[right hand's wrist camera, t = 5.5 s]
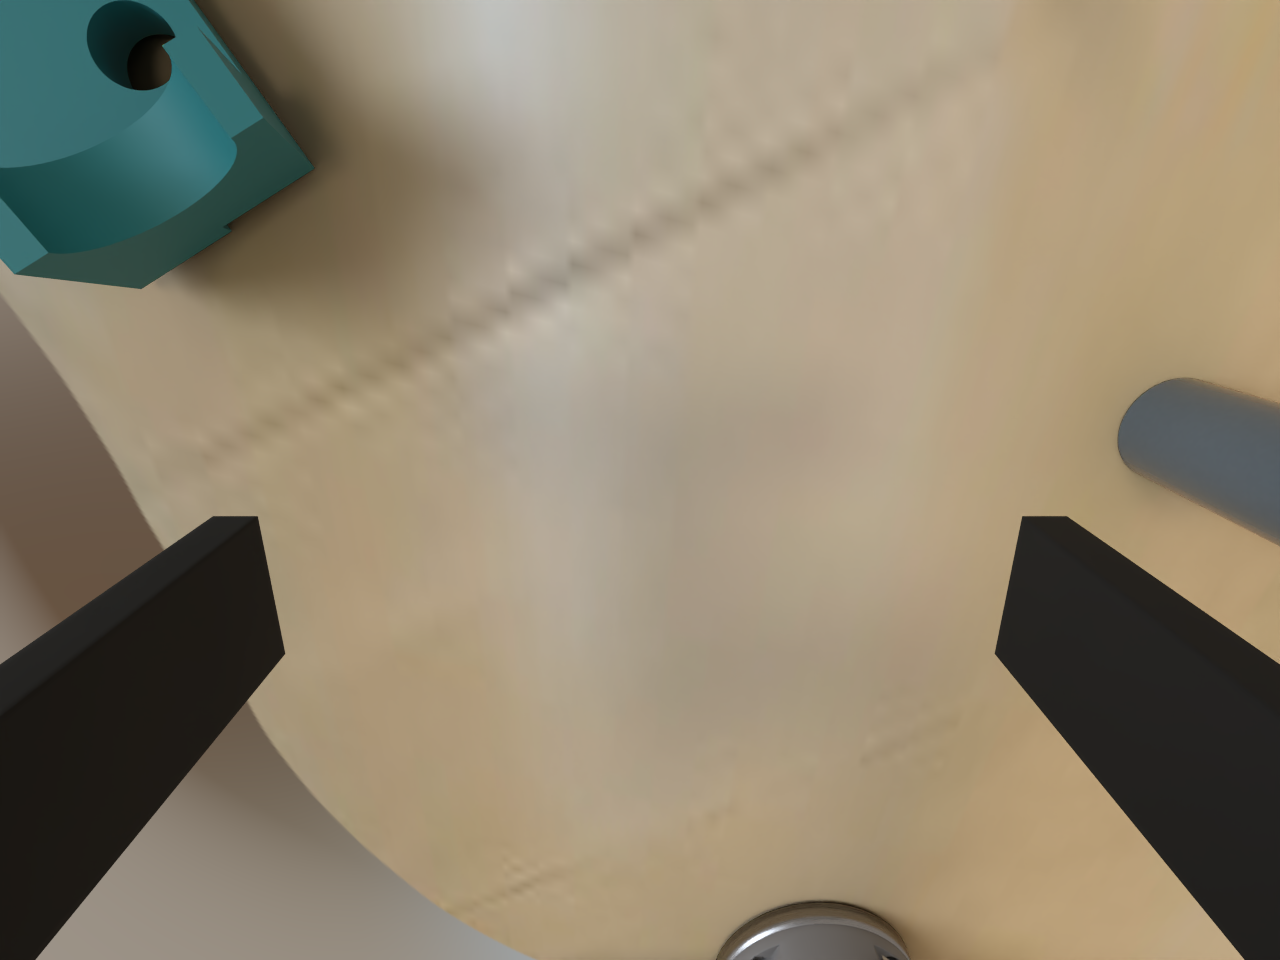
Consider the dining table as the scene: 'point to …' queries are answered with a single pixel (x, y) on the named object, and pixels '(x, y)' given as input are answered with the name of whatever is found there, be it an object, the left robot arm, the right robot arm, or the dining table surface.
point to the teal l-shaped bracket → (126, 141)
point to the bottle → (1209, 449)
